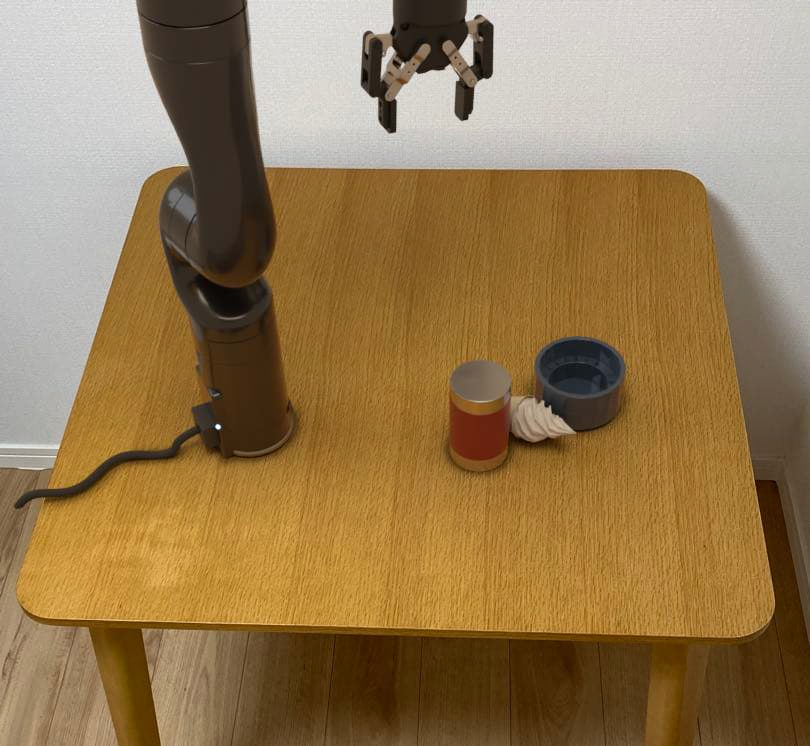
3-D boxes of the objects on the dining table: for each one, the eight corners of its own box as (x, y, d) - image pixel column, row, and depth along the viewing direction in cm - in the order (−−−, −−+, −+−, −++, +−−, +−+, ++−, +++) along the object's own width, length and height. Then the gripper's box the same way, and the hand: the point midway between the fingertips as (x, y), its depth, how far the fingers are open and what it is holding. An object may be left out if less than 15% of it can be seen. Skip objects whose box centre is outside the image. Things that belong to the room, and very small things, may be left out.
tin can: (465, 480, 133) (466, 410, 124) (439, 441, 137) (438, 370, 128) (518, 460, 135) (523, 389, 126) (490, 422, 139) (493, 351, 130)
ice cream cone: (467, 427, 142) (573, 462, 133) (450, 406, 138) (558, 441, 129) (487, 392, 142) (593, 424, 134) (471, 370, 138) (579, 402, 130)
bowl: (559, 443, 136) (563, 409, 132) (516, 387, 142) (518, 352, 138) (637, 414, 139) (643, 380, 134) (591, 360, 145) (595, 325, 140)
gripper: (378, -11, 113) (378, 150, 124) (512, -29, 117) (500, 128, 128) (350, -37, 117) (352, 120, 129) (479, -54, 122) (470, 99, 133)
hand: (425, 124), depth 128 cm, fingers open, 8 cm apart
